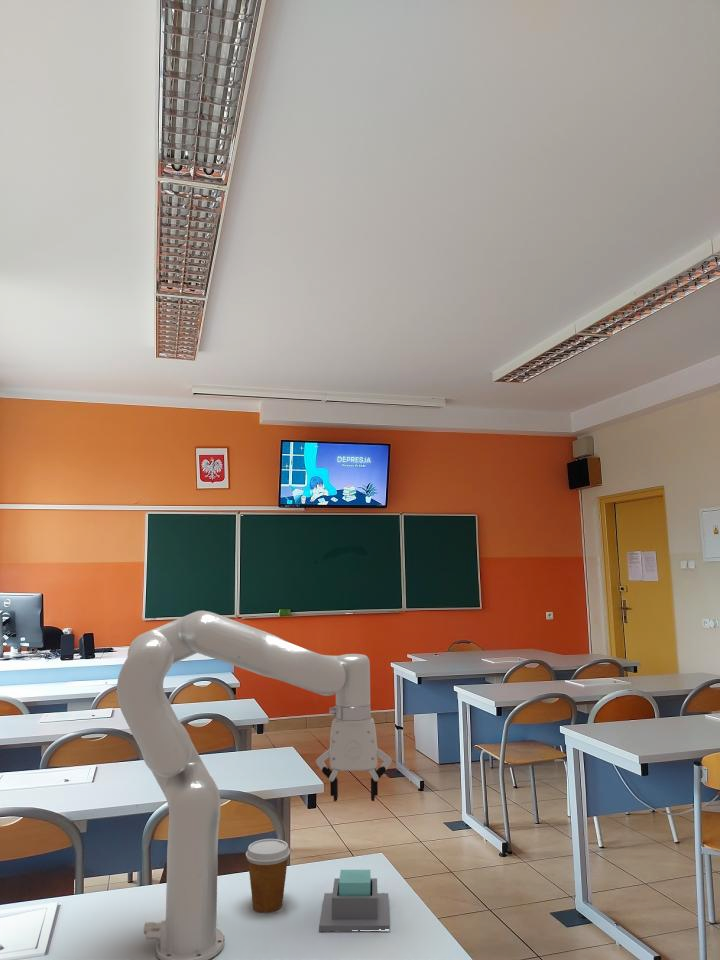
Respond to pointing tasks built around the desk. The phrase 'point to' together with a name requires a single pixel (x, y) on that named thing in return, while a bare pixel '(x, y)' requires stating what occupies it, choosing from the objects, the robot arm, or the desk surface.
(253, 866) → the disposable coffee cup
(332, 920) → the button housing
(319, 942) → the desk surface
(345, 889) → the button cap
